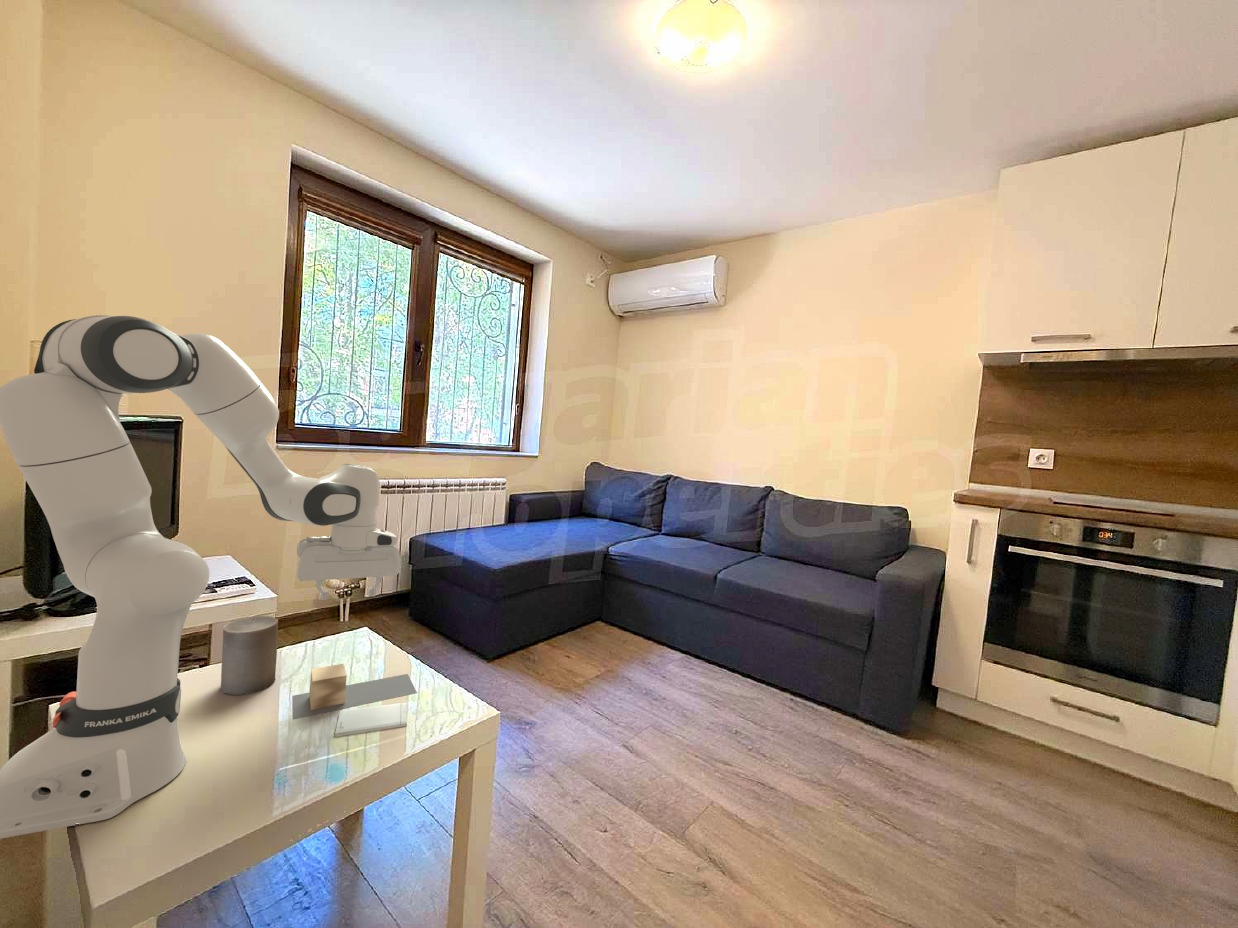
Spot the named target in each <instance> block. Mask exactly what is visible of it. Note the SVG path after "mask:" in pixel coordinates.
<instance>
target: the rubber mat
mask: <svg viewBox="0 0 1238 928" xmlns="http://www.w3.org/2000/svg"><path fill="white" fill-rule="evenodd" d="M417 693H418V692H417V690H416V688H415V685H414V684H413V682H412V679H411V678H410V675H409V674H408V673H405V674H400V675H394V676H390V677H389V676H387V677H384V678H378V679H374V680H368V681H363V682H359V683H357V682H356V683H353V684H346V692H345V703H343V704H339V705H334V706H329V707H325V708H320V709H315V710H311V707H310V699H309V694H310V691H309V692H305V693H301V694H299V693H298V694H295V695H294V694H293V695H292V720H294V721H295V720H297V719H302V718H307V717H311V716H315V715H321V714H322V715H323V714H326V713H330V712H334V711H339V710H340V711H341V710H346V709H348V708H353V707H358V706H363V705H367V704H372V703H377V702H381V701H382V702H383V701H386V700H390V699H395V698H401V697H404V696H409V695H414V694H417Z"/></svg>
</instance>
